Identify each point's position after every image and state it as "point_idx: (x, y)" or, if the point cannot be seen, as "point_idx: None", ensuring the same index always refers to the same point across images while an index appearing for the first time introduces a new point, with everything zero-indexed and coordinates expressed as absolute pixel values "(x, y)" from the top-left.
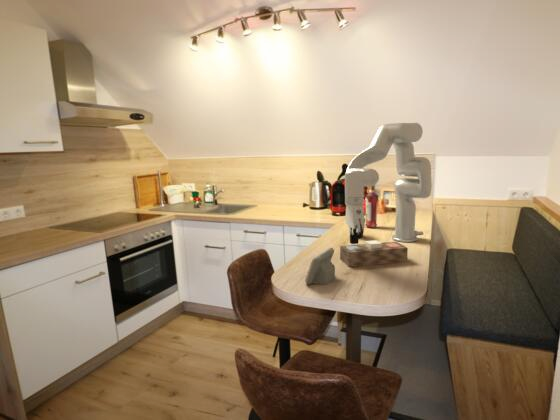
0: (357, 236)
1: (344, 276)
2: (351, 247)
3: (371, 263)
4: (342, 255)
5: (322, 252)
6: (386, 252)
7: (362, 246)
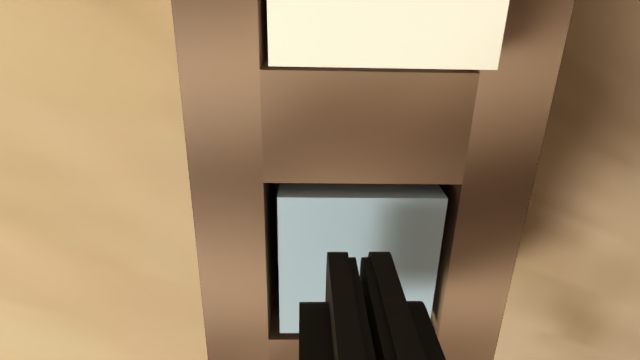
0: (416, 351)
1: (620, 352)
2: None
3: None
4: None
5: None
6: None
7: (309, 120)
